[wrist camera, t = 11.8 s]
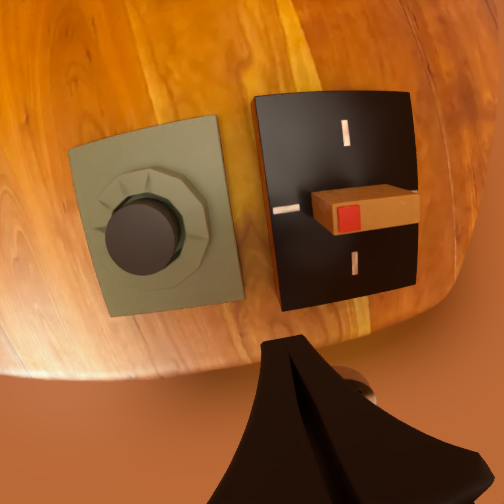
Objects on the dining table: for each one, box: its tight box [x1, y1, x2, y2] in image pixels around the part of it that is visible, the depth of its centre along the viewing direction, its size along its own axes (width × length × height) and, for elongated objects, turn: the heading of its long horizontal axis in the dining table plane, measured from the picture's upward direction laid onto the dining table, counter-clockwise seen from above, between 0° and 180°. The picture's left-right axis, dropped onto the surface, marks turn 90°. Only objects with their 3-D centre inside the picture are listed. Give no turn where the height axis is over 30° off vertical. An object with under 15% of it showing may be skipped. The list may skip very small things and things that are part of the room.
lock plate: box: [251, 91, 418, 312], centre depth 18 cm, size 12×9×3 cm
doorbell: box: [68, 114, 245, 317], centre depth 17 cm, size 11×9×3 cm
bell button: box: [105, 198, 180, 276], centre depth 15 cm, size 4×4×2 cm
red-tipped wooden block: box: [311, 184, 420, 235], centre depth 15 cm, size 4×1×4 cm, turn 98°
